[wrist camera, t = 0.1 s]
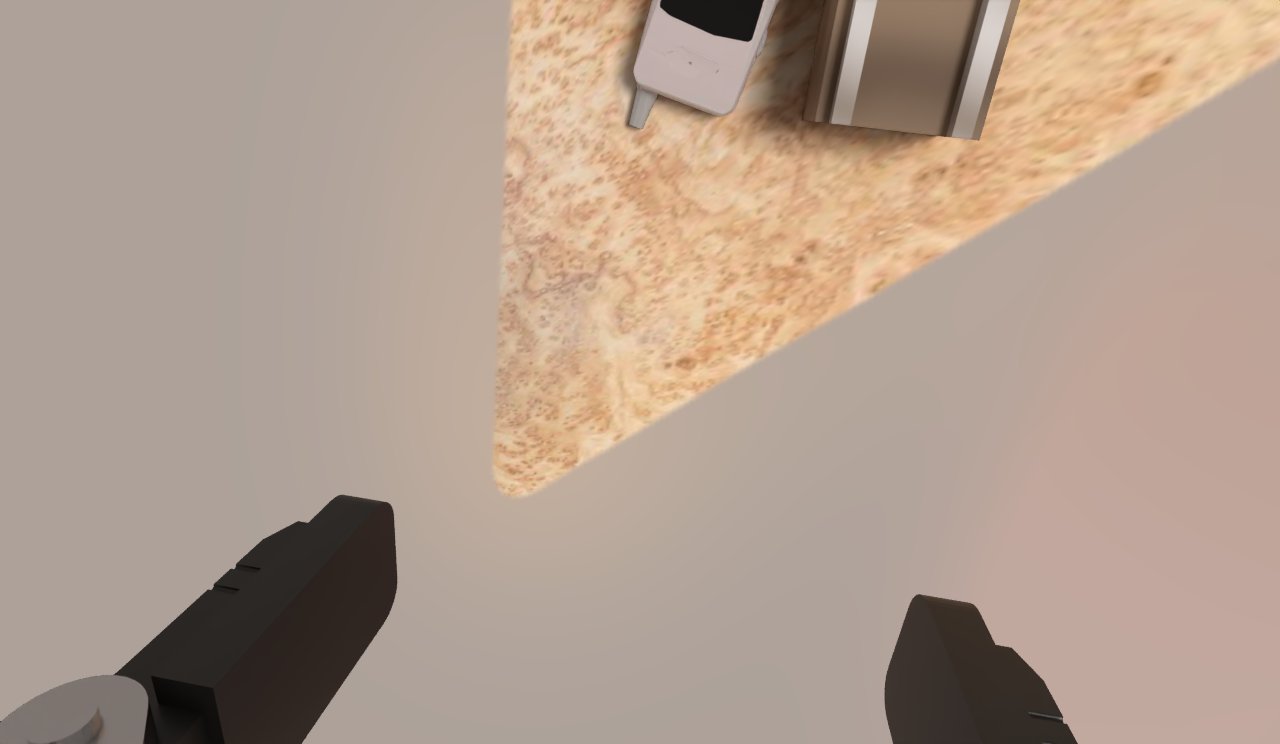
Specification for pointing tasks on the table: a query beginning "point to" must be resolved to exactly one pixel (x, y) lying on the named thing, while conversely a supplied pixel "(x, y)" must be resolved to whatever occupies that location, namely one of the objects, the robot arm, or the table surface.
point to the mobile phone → (698, 53)
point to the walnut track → (909, 64)
